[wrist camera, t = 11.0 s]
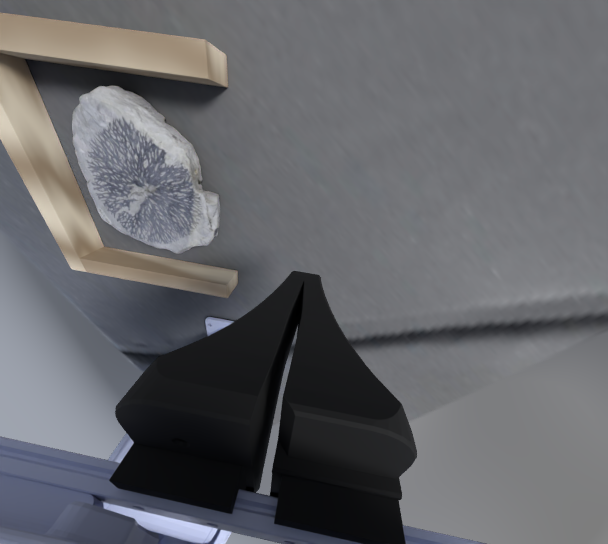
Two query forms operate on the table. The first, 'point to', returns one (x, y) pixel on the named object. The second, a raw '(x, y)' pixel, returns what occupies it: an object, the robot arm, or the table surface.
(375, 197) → the table surface
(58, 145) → the bay
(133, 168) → the fossil
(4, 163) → the table surface
